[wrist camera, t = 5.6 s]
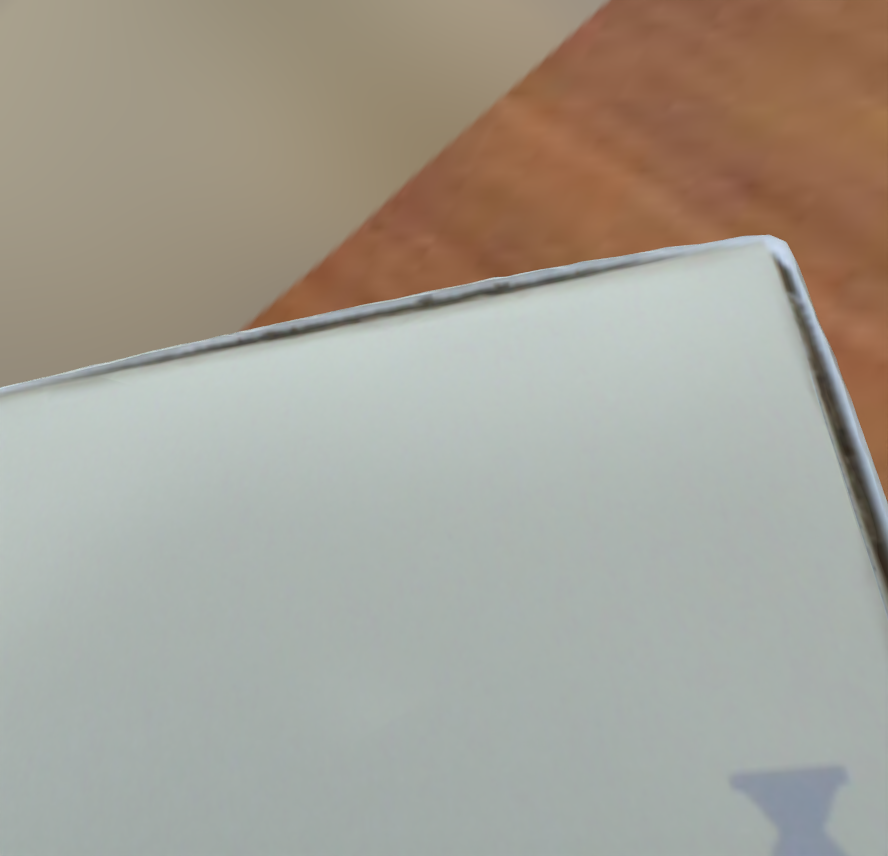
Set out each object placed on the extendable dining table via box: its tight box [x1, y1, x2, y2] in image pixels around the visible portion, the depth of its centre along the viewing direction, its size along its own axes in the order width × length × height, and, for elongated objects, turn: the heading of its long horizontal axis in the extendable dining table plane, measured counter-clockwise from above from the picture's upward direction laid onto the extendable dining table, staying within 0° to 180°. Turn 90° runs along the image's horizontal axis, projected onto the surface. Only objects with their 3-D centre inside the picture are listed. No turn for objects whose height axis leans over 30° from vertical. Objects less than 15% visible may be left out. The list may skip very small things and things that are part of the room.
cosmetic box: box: [0, 235, 888, 856], centre depth 10 cm, size 6×4×12 cm
